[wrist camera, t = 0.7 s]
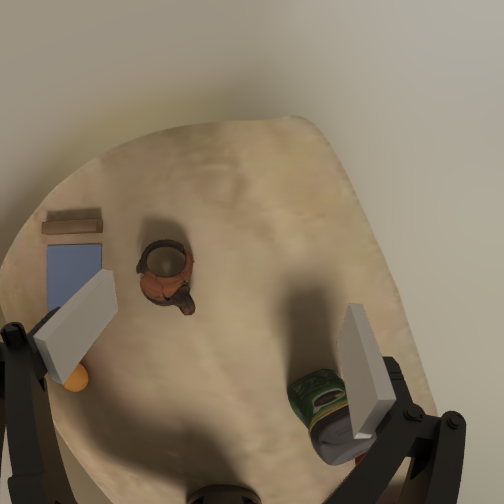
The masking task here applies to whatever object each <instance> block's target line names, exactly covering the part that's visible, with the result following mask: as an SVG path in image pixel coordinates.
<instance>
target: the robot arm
mask: <svg viewBox="0 0 504 504" xmlns="http://www.w3.org/2000/svg"><path fill="white" fill-rule="evenodd" d="M118 311H119V310H118V304H117V297H116V291H115V283H114V276H113V271H112V270H106V269H101V270H100V271H99V272H98V273H97V274H96V275H95V276H94V277H92V278H91V279H90V280H89V281H88V282H87V283H86V284H85V285H84V286H83V287H82V288H81V289H80V290H79V291H78V292H77V293H75V294H74V295H73V296H72V297H71V298H70V299H69V300H68V301H67V302H66V303H65V304H64V305H63V306H62V307H57V308H55V309H53V310H51V311H50V312H49V313H48V314H47V315H46V316H45V318H43V319H42V320H41V322H39V323H38V324H37V325H36V326H35V327H34V328H33V329H32V330H31V331H30V332H29V333H28V334H27V335H26V333H25V330H24V327H23V325H22V324H21V323H19V322H11V323H8V324H7V325H5V326H4V327H3V328H2V329H1V332H0V334H1V336H2V339H3V341H4V343H2V342H0V476H1V460H2V450H3V441H4V434H5V427H6V428H7V438H8V447H9V454H10V461H11V467H12V474H13V475H12V477H9V478H8V489H9V493H10V498H11V502H12V504H78V503H77V502H76V500H75V498H74V495H73V493H72V490H71V487H70V484H69V481H68V478H67V475H66V471H65V468H64V465H63V461H62V458H61V454H60V450H59V446H58V442H57V438H56V434H55V429H54V424H53V419H52V414H51V409H50V403H49V397H48V390H47V383H46V379H45V377H44V376H45V374H46V373H47V372H48V373H49V375H50V378H51V380H53V381H55V382H57V383H60V384H62V385H64V383H65V382H66V380H67V379H68V378H69V376H70V375H71V373H72V372H73V371H74V369H75V368H76V366H77V365H78V364H79V362H80V361H81V359H82V358H83V357H84V355H85V354H86V353H87V351H88V350H89V349H90V347H91V346H92V344H93V343H94V342H95V340H96V339H97V338H98V336H99V335H100V334H101V333H102V331H103V330H104V329H105V327H106V326H107V325H108V323H109V322H110V321H111V320H112V318H113V317H114V316H115V314H116V313H117V312H118ZM337 347H338V352H339V357H340V362H341V367H342V372H343V377H344V383H345V388H346V394H347V400H348V405H349V411H350V418H351V424H352V430H353V437H354V439H360V438H370V437H371V436H372V435H373V433H374V432H376V436H377V439H376V440H375V441H374V443H373V444H372V445H371V447H370V448H369V449H368V451H367V452H366V453H365V455H364V456H363V457H362V459H361V460H360V461H359V462H358V464H357V465H356V466H355V467H354V469H353V470H352V471H351V472H350V473H349V475H348V476H347V477H346V478H345V479H344V480H343V482H342V483H341V484H340V485H339V486H338V487H337V488H336V489H335V491H334V492H333V493H332V494H331V495H330V496H329V497H328V498H327V499H326V500H325V501H324V502H323V503H322V504H374V503H375V502H376V501H377V499H378V498H379V496H380V495H381V494H382V492H383V491H384V489H385V488H386V486H387V485H388V483H389V482H390V480H391V479H392V477H393V476H394V474H395V473H396V471H397V470H398V468H399V466H400V465H401V463H402V462H403V460H404V458H405V457H411V461H410V465H409V469H408V472H407V476H406V479H405V482H404V486H403V489H402V492H401V495H400V498H399V501H398V504H456V503H457V499H458V493H459V488H460V482H461V475H462V467H463V459H464V449H465V436H466V421H465V419H464V417H463V416H462V415H461V414H460V413H458V412H455V411H448V412H445V413H444V414H443V415H442V417H441V418H440V417H435V416H430V415H426V414H425V412H424V411H423V409H422V408H421V407H420V406H418V405H417V404H414V403H413V401H412V398H411V396H410V393H409V390H408V387H407V385H406V382H405V380H404V377H403V374H402V371H401V369H400V366H399V364H398V363H397V362H396V361H395V359H394V358H393V357H382V355H381V352H380V349H379V347H378V344H377V341H376V338H375V336H374V333H373V330H372V328H371V325H370V322H369V320H368V317H367V315H366V312H365V310H364V307H363V305H362V304H354V303H349V305H348V309H347V312H346V315H345V318H344V322H343V325H342V328H341V331H340V334H339V337H338V340H337ZM188 504H262V503H261V501H260V499H259V498H258V497H257V496H256V495H255V494H254V493H253V492H251V491H249V490H247V489H244V488H241V487H238V486H232V485H213V486H208V487H205V488H202V489H200V490H198V491H196V492H195V493H194V494H193V495H192V496H191V497H190V499H189V502H188Z"/></svg>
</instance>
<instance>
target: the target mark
mask: <svg viewBox="0 0 504 504" xmlns="http://www.w3.org/2000/svg"><path fill="white" fill-rule="evenodd" d="M101 269H102V244H88V245H51V246H47V298H48V311H51V310H53V309H55V308H57V307H62V306H63V305H64V304H65V303H66V302H67V301H68V300H69V299H70V298H71V297H72V296H73V295H74V294H75V293H77V292H78V291H79V290H80V289H81V288H82V287H83V286H84V285H85V284H86V283H87V282H88V281H89V280H90V279H91V278H92V277H94V276H95V275H96V274H97V273H98V272H99V271H100V270H101Z"/></svg>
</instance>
